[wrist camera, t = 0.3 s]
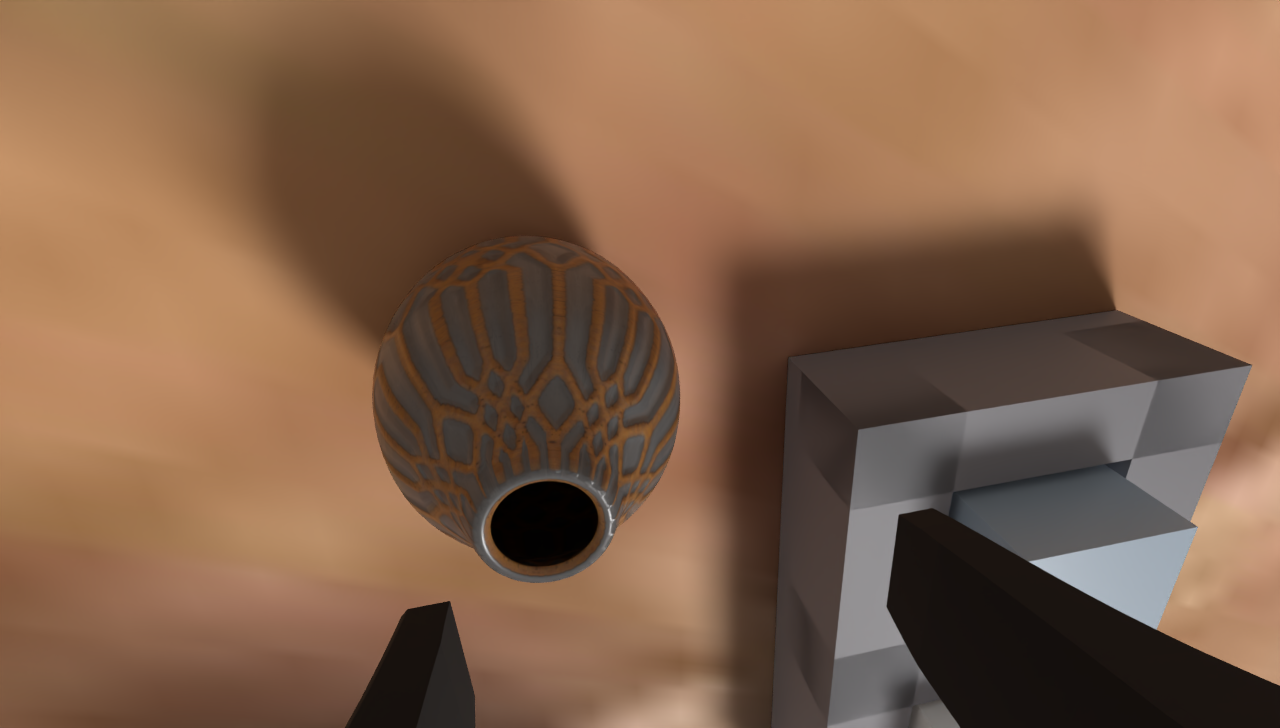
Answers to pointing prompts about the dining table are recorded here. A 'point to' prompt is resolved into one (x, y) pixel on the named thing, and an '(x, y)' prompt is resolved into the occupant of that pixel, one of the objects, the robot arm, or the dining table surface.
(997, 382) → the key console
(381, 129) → the dining table surface
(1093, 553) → the slate key
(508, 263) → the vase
